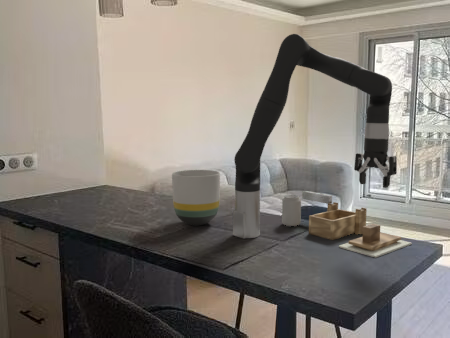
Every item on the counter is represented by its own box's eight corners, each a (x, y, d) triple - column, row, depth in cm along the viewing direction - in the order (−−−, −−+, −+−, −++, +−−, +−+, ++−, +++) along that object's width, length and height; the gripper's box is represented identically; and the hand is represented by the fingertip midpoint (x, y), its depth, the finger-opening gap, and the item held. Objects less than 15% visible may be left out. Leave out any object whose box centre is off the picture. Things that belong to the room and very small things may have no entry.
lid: (371, 252, 141) (372, 232, 140) (348, 246, 147) (349, 226, 146) (401, 241, 152) (401, 222, 151) (378, 236, 159) (379, 218, 158)
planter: (229, 223, 181) (229, 172, 178) (195, 233, 167) (194, 177, 164) (197, 216, 194) (196, 168, 191) (163, 224, 180) (162, 173, 177)
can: (300, 227, 174) (300, 197, 172) (281, 226, 175) (281, 197, 174) (300, 222, 181) (301, 194, 180) (282, 222, 183) (283, 193, 181)
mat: (375, 257, 137) (375, 255, 137) (338, 247, 148) (338, 245, 148) (411, 244, 151) (411, 242, 151) (375, 235, 162) (375, 234, 162)
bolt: (328, 203, 174) (328, 196, 174) (302, 198, 185) (302, 191, 185) (331, 203, 176) (332, 195, 175) (305, 198, 186) (305, 190, 186)
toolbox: (336, 241, 155) (337, 215, 154) (304, 232, 166) (305, 208, 165) (366, 232, 166) (367, 208, 165) (334, 224, 177) (334, 202, 176)
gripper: (351, 136, 146) (349, 184, 148) (390, 138, 135) (387, 190, 137) (364, 135, 151) (362, 182, 153) (402, 137, 140) (399, 187, 142)
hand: (373, 185), depth 145 cm, fingers open, 8 cm apart
